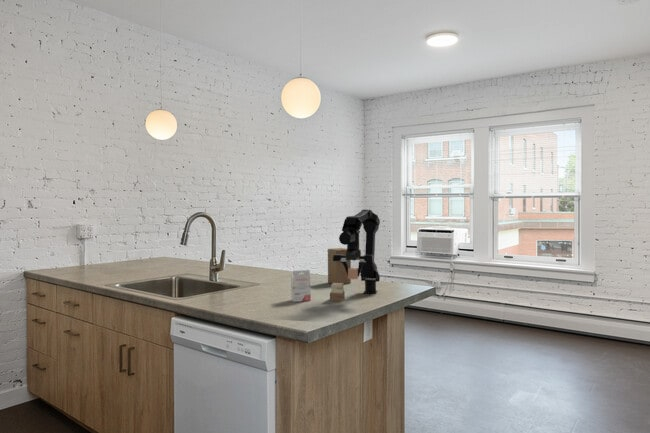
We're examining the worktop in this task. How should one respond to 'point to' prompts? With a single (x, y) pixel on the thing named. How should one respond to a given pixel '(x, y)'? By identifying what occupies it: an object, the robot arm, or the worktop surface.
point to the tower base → (337, 296)
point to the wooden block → (337, 267)
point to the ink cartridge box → (300, 286)
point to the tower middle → (337, 288)
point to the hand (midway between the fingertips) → (353, 276)
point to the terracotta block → (353, 273)
